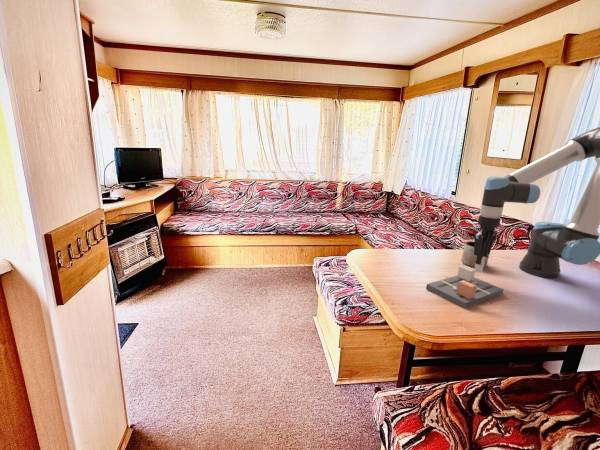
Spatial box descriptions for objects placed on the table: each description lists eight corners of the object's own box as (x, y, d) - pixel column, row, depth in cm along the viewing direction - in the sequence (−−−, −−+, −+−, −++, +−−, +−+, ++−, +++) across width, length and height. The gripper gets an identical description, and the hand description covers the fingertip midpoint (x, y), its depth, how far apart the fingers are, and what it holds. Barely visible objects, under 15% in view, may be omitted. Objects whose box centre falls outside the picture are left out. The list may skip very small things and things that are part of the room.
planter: (490, 269, 146) (494, 249, 143) (464, 266, 148) (468, 247, 145) (482, 261, 156) (486, 242, 153) (458, 258, 158) (461, 240, 155)
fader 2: (461, 291, 117) (463, 279, 116) (474, 297, 113) (476, 285, 112) (456, 292, 116) (458, 281, 115) (469, 299, 112) (471, 287, 110)
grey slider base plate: (463, 277, 135) (464, 272, 134) (502, 294, 122) (504, 287, 121) (426, 288, 123) (427, 282, 122) (464, 308, 110) (466, 301, 109)
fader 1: (461, 275, 132) (463, 265, 131) (473, 280, 128) (475, 269, 126) (457, 276, 130) (459, 266, 129) (468, 281, 126) (471, 270, 125)
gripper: (489, 212, 133) (478, 265, 139) (471, 215, 126) (460, 270, 132) (508, 216, 127) (495, 271, 133) (490, 219, 120) (477, 277, 126)
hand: (478, 270), depth 133 cm, fingers closed
